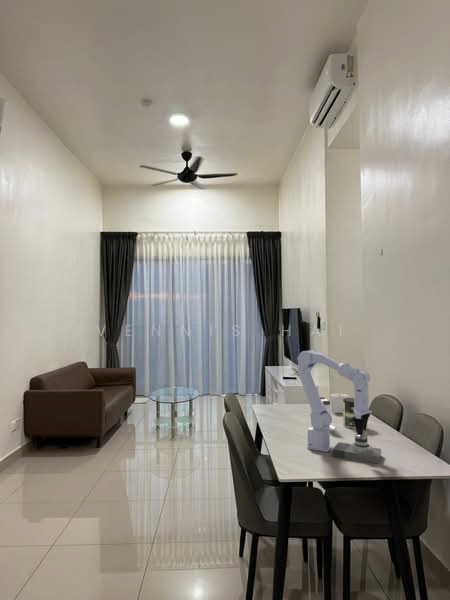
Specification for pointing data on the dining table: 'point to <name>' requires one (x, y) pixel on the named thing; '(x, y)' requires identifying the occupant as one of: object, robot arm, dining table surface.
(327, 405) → the panda figurine
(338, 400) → the toilet tissue
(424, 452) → the dining table surface
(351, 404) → the coffee can
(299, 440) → the dining table surface
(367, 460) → the camera body
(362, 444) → the lens
